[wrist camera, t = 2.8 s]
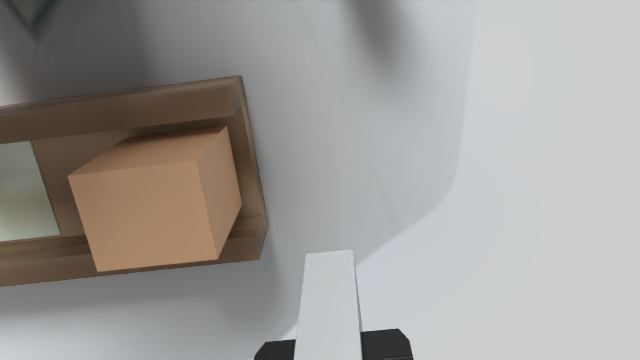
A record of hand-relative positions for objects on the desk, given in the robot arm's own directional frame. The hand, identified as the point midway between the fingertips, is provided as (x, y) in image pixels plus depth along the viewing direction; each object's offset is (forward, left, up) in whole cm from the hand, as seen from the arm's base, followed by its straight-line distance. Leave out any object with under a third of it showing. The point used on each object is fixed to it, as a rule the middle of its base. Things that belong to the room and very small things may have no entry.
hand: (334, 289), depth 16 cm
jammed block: (0, -9, -14) cm, 17 cm away
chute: (0, -16, -16) cm, 23 cm away
